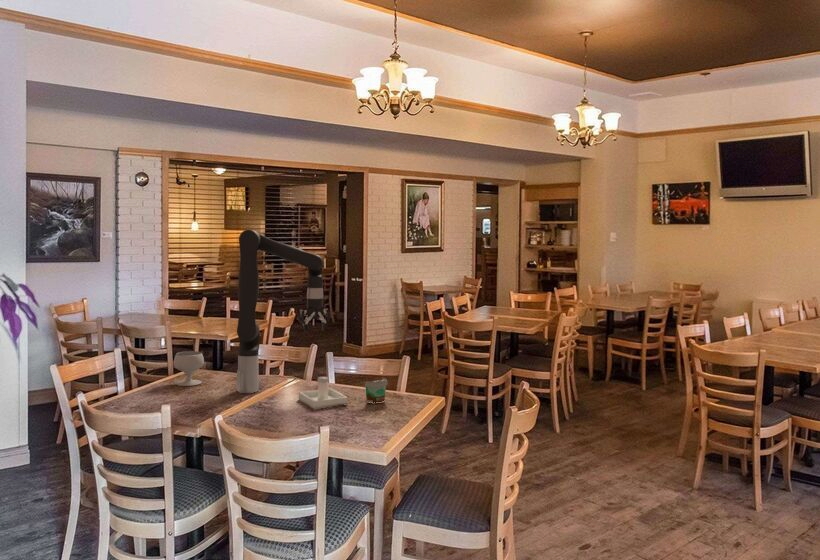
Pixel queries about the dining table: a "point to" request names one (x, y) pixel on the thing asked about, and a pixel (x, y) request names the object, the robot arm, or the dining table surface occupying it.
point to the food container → (376, 390)
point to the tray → (313, 402)
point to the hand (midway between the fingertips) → (314, 331)
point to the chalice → (188, 366)
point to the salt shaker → (322, 388)
